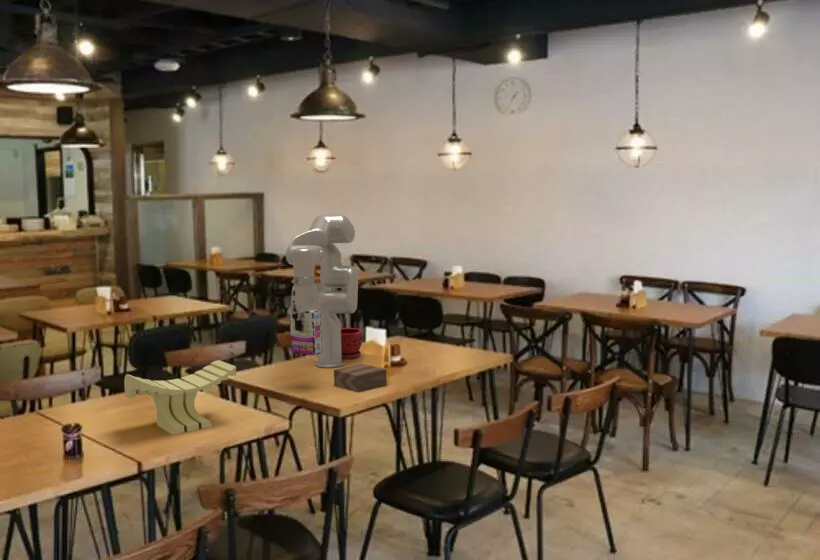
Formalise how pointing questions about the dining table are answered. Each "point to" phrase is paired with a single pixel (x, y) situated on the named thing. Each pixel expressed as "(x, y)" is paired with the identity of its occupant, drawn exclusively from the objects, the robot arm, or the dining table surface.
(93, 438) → the dining table surface
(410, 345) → the dining table surface
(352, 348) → the plant pot
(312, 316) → the candy bar box
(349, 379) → the walnut riser
